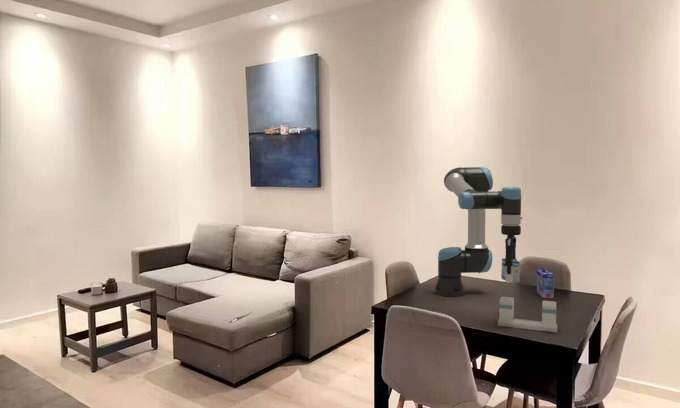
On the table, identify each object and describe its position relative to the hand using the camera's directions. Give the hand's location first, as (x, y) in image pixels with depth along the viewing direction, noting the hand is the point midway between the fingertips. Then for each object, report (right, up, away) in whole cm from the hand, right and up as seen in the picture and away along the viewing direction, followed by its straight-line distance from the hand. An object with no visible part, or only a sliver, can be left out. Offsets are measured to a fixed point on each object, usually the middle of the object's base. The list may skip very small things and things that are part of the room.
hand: (510, 279), depth 191 cm
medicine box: (0, -1, 0) cm, 1 cm away
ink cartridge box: (+33, -15, +42) cm, 56 cm away
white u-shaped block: (+6, -19, -3) cm, 20 cm away
